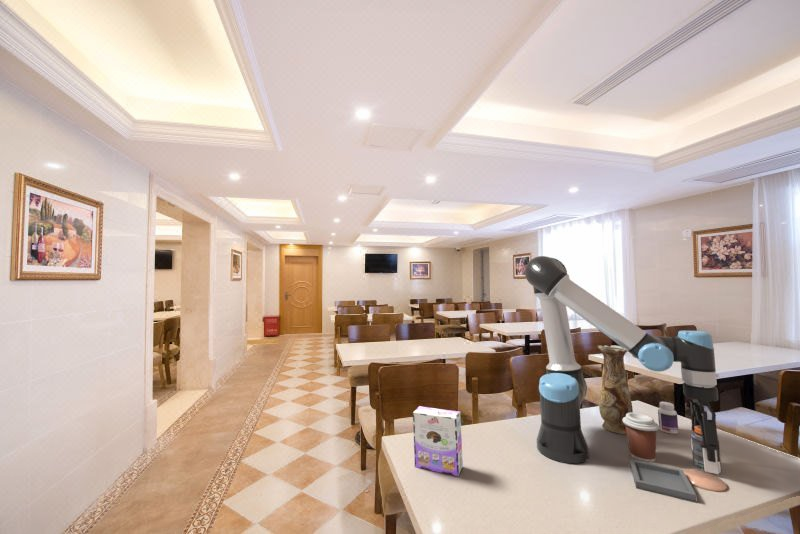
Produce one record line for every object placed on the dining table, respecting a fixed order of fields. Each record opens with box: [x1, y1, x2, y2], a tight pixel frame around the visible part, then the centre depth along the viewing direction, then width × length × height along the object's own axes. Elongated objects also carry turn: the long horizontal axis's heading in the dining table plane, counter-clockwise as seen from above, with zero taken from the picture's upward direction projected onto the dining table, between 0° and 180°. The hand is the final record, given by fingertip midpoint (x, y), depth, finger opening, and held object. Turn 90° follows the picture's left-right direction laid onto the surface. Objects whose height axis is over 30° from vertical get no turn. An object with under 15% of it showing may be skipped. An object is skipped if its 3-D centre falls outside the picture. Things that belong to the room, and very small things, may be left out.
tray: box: [629, 459, 698, 504], centre depth 85 cm, size 12×12×2 cm
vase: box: [597, 344, 634, 435], centre depth 118 cm, size 10×11×30 cm
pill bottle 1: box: [657, 401, 680, 435], centre depth 114 cm, size 5×5×10 cm
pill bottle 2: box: [690, 426, 723, 474], centre depth 91 cm, size 6×6×11 cm
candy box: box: [412, 405, 464, 477], centre depth 95 cm, size 14×6×16 cm, turn 65°
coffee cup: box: [622, 411, 660, 463], centre depth 98 cm, size 9×9×12 cm
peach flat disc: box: [682, 468, 727, 493], centre depth 85 cm, size 9×9×1 cm
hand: (707, 466), depth 91 cm, fingers open, 6 cm apart
